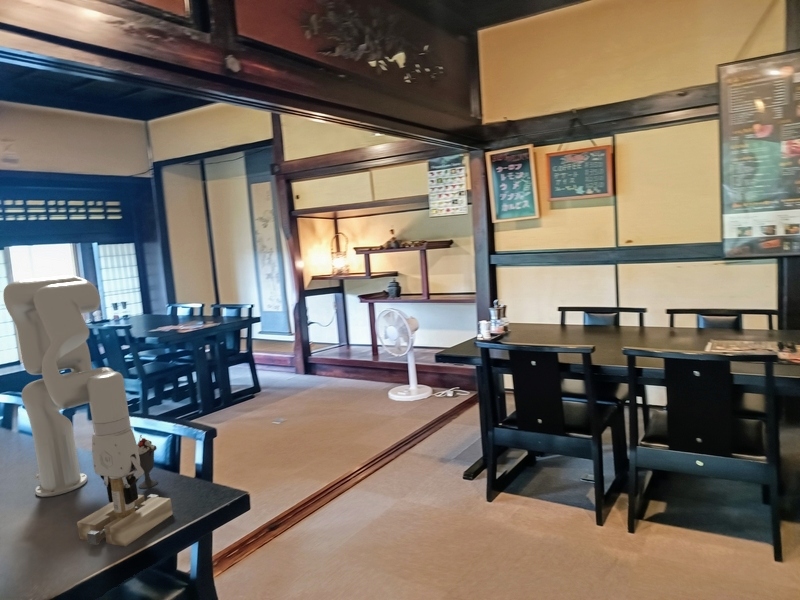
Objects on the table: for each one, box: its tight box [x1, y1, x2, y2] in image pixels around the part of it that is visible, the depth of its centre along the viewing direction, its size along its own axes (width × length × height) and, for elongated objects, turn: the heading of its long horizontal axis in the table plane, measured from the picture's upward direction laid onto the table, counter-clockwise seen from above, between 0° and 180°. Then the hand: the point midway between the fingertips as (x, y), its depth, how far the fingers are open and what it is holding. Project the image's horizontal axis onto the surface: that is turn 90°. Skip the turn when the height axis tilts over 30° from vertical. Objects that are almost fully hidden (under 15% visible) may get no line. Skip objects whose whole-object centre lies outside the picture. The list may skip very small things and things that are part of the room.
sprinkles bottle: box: [109, 475, 135, 519], centre depth 126 cm, size 5×5×14 cm
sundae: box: [136, 434, 159, 490], centre depth 149 cm, size 7×7×15 cm
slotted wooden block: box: [76, 494, 174, 547], centre depth 127 cm, size 14×14×4 cm
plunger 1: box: [87, 521, 112, 545], centre depth 122 cm, size 2×7×2 cm, turn 159°
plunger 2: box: [135, 493, 159, 511], centre depth 132 cm, size 2×7×2 cm, turn 159°
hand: (123, 499), depth 127 cm, fingers closed on sprinkles bottle, 4 cm apart
